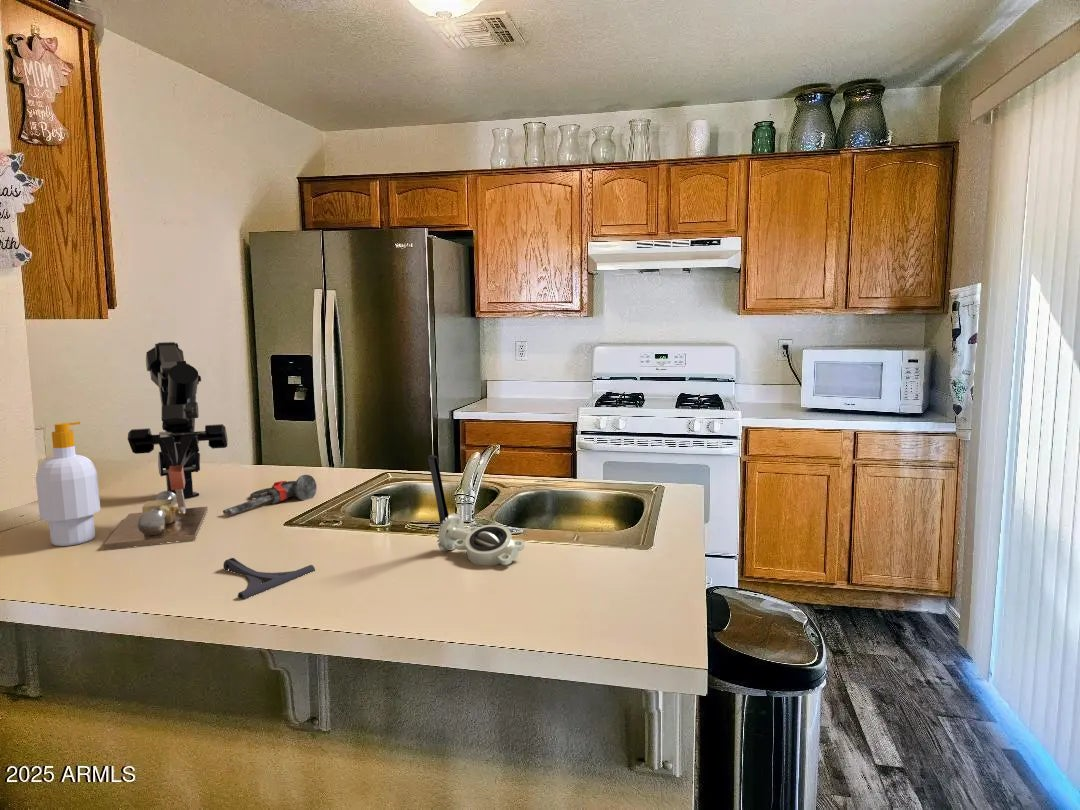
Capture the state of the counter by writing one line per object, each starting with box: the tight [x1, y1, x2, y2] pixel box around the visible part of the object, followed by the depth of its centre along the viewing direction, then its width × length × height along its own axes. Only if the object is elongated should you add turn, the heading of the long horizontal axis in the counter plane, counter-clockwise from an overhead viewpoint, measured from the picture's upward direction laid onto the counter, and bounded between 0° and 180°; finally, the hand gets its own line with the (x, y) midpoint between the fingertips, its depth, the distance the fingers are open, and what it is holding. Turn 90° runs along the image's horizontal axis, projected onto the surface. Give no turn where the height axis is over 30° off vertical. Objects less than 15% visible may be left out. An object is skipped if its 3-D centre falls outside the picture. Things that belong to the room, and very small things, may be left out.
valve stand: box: [103, 490, 209, 551], centre depth 147 cm, size 22×16×6 cm
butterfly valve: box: [427, 454, 525, 566], centre depth 127 cm, size 9×20×17 cm
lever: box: [168, 465, 187, 514], centre depth 146 cm, size 2×2×12 cm
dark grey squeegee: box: [223, 557, 316, 600], centre depth 121 cm, size 14×15×3 cm
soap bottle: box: [35, 421, 101, 547], centre depth 139 cm, size 10×10×24 cm
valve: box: [222, 474, 318, 516], centre depth 168 cm, size 6×26×15 cm
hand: (177, 471), depth 145 cm, fingers closed, pressing on lever
